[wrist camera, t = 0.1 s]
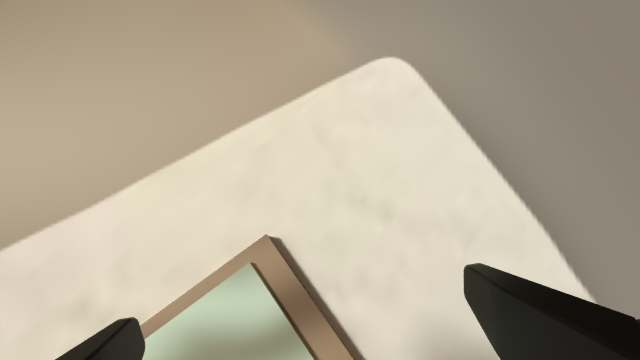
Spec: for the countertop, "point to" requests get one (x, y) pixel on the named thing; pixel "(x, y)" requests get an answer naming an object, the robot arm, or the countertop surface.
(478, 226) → the countertop surface
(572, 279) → the countertop surface
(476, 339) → the countertop surface
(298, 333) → the stand board
